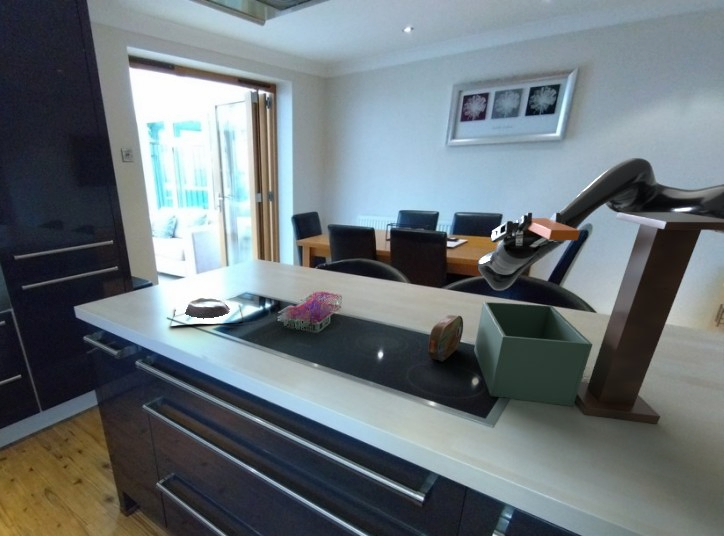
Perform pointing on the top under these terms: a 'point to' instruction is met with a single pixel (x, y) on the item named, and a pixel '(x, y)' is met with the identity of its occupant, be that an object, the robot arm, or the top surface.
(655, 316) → the stand
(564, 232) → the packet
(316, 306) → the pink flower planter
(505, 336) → the bin
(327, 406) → the top surface
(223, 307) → the dark grey round dish
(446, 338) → the tin
